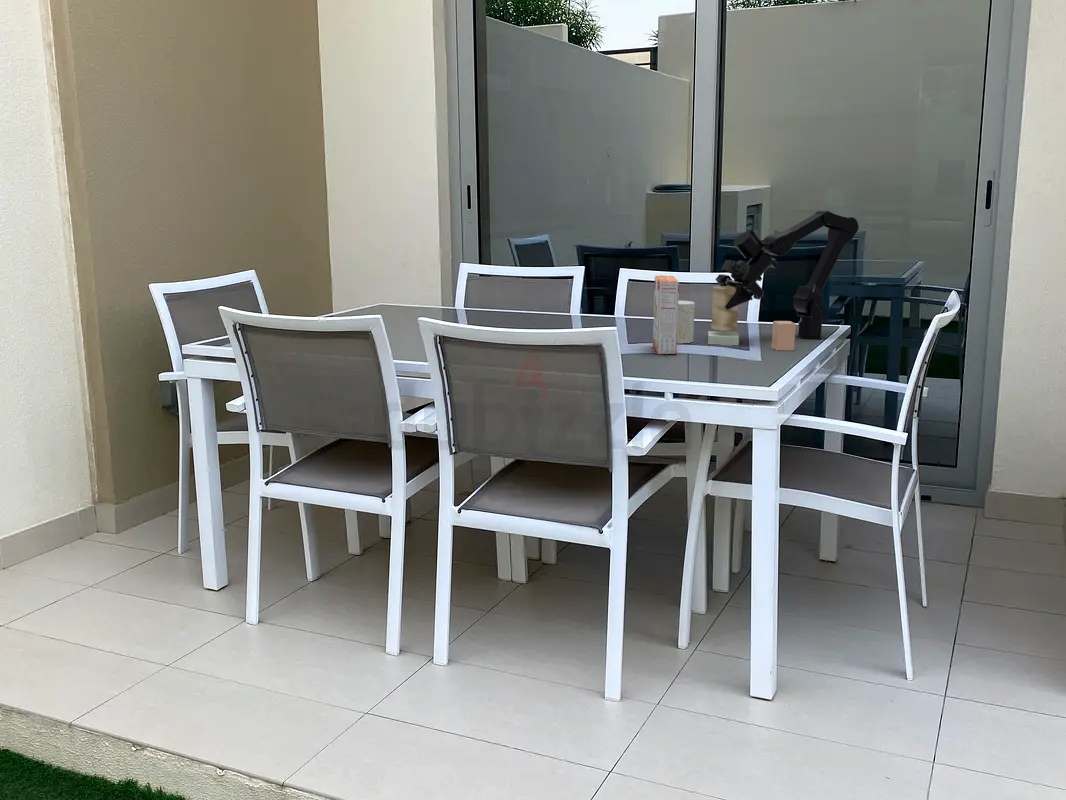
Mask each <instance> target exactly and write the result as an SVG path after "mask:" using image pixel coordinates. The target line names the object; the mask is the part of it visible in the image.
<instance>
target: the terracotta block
mask: <svg viewBox="0 0 1066 800" xmlns="http://www.w3.org/2000/svg"><path fill="white" fill-rule="evenodd" d="M771 335H772V336H771V349H772V348H774V349H776V350H794V351H795V341H796V340H795V339H796V323H795V322H793V321H790V320H773V322H772V334H771ZM774 349H773V350H774ZM776 350H775V351H776Z"/></svg>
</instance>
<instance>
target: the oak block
mask: <svg viewBox="0 0 1066 800" xmlns="http://www.w3.org/2000/svg"><path fill="white" fill-rule="evenodd" d="M735 292H736V287H732V286H717V285H716V286H713V287H712V300H711V301H712V302H711V303H712V304H711V327H710V329H713V330H717V331H719V332H726V331H736V330H738V313H739V305H737V306H735V307H733V308H730V309H726V308H725V307H726V305H727V303H728V302H729V301H730V299H731V298H732V296H733V295H734V294H735Z"/></svg>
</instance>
